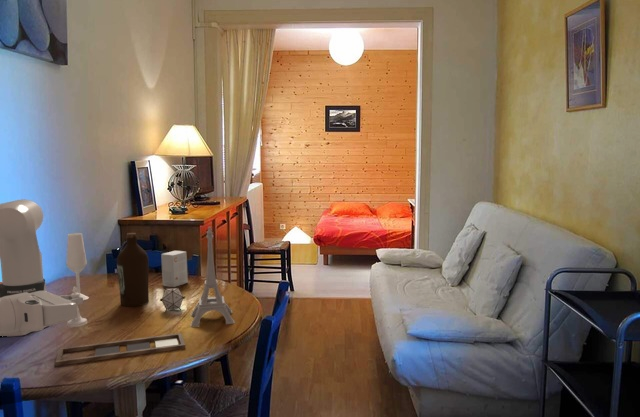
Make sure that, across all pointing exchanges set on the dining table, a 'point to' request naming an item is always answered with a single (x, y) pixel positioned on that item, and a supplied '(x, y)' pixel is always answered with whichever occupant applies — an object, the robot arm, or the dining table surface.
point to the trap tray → (119, 354)
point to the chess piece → (78, 319)
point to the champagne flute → (76, 257)
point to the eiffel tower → (205, 301)
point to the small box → (174, 268)
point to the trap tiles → (116, 348)
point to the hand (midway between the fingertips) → (79, 298)
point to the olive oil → (133, 273)
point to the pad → (166, 342)
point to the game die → (172, 298)
